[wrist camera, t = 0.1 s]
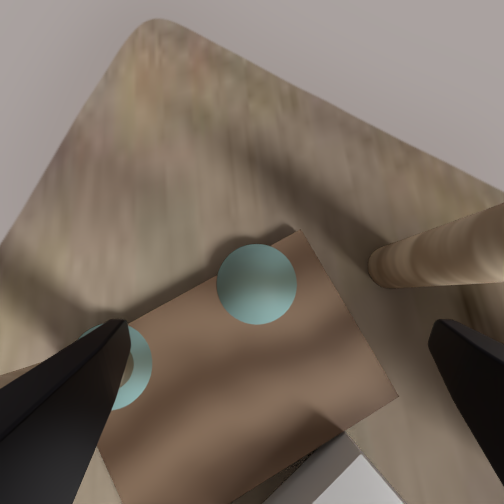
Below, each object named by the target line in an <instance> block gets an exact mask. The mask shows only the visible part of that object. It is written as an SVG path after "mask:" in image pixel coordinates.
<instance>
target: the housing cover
mask: <svg viewBox="0 0 504 504" xmlns="http://www.w3.org/2000/svg"><path fill="white" fill-rule="evenodd" d="M262 504H407V503H406V502H405V501H404V500H403V499H402V497H401V496H400V495H399V494H398V493H397V492H396V490H395V489H394V488H393V487H392V486H391V485H390V483H389V482H388V481H387V480H386V479H385V478H384V476H383V475H382V474H381V473H380V472H379V471H378V469H377V468H376V467H375V466H374V465H373V463H372V462H371V461H370V460H369V459H368V458H367V456H366V455H365V454H364V453H363V452H362V451H361V449H360V448H359V447H358V446H357V445H356V444H355V442H354V441H353V440H352V439H351V438H350V437H349V435H348V434H347V433H346V432H345V431H344V432H342V433H340V434H339V435H337V436H336V437H334V438H332V439H331V440H329V441H328V442H326V443H325V444H323V445H321V446H320V447H319V448H318V449H317V450H316V451H315V452H314V453H313V454H312V455H311V456H310V457H309V458H308V459H307V460H306V461H305V462H304V463H303V464H302V465H301V466H300V467H299V468H298V469H297V470H296V471H295V472H294V473H293V474H292V475H291V476H290V477H289V478H288V479H287V480H285V481H284V482H283V483H282V484H281V485H280V486H279V487H278V488H277V489H276V490H275V491H274V492H273V493H272V494H271V495H270V496H269V497H268V498H267V499H266V500H265V501H264V502H263V503H262Z"/></svg>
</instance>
